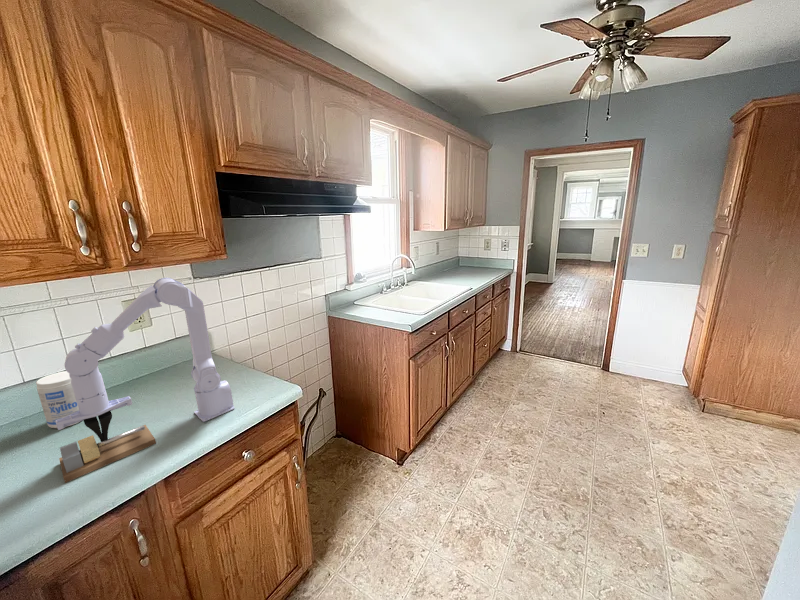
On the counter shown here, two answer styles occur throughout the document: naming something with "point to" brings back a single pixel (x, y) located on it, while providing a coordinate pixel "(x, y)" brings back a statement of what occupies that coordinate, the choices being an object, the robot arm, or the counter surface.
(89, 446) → the nut
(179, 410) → the counter surface
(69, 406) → the supplement tub
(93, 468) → the base
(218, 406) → the robot arm
